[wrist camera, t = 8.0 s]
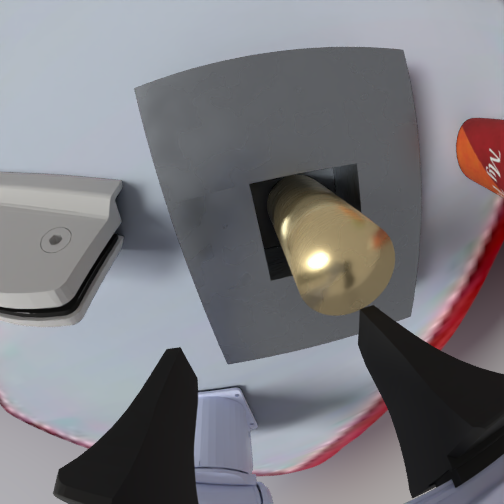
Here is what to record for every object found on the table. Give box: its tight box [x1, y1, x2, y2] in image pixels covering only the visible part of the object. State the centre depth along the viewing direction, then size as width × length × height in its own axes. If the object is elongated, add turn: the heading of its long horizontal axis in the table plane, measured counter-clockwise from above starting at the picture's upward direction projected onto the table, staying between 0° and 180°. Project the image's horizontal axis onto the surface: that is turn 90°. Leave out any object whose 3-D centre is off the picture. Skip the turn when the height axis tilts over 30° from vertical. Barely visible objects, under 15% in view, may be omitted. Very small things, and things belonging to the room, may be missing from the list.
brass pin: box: [267, 175, 395, 316], centre depth 14 cm, size 4×4×9 cm
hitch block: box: [134, 47, 421, 364], centre depth 16 cm, size 18×14×4 cm
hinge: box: [0, 172, 124, 327], centre depth 13 cm, size 17×5×10 cm, turn 78°
